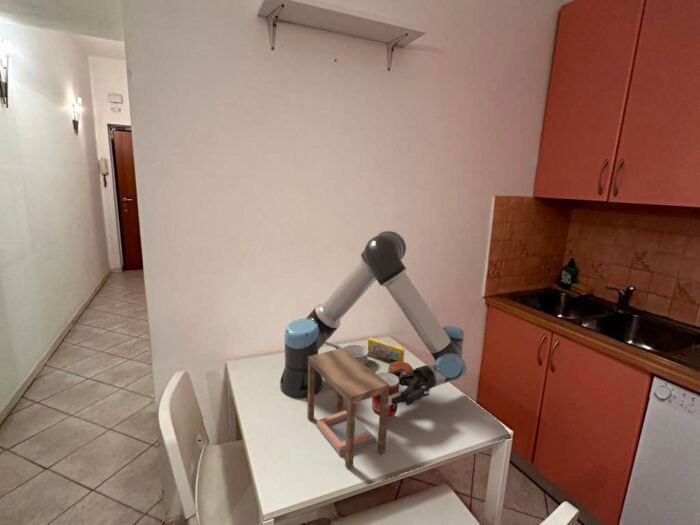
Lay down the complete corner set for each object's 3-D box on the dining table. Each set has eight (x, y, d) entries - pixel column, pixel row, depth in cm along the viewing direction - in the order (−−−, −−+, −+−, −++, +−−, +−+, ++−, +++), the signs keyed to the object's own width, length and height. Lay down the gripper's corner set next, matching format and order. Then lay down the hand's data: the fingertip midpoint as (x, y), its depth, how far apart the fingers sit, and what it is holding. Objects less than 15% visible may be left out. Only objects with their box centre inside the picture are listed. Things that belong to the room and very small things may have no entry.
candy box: (367, 356, 155) (367, 338, 153) (369, 355, 156) (370, 337, 155) (401, 368, 146) (402, 349, 144) (403, 366, 148) (405, 348, 146)
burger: (418, 378, 139) (418, 367, 138) (399, 385, 134) (400, 374, 133) (400, 367, 147) (401, 356, 146) (382, 373, 142) (383, 362, 141)
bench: (340, 406, 120) (342, 347, 115) (385, 452, 101) (389, 384, 96) (307, 418, 114) (308, 356, 109) (348, 469, 94) (351, 397, 89)
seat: (349, 414, 116) (350, 407, 116) (375, 441, 105) (376, 433, 104) (316, 426, 110) (316, 419, 109) (339, 456, 99) (340, 448, 98)
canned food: (396, 419, 110) (398, 387, 108) (369, 415, 112) (371, 383, 109) (398, 404, 117) (400, 374, 115) (373, 401, 119) (375, 370, 116)
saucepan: (332, 349, 161) (332, 337, 160) (372, 360, 151) (373, 348, 150) (317, 359, 151) (317, 347, 150) (360, 373, 142) (360, 359, 140)
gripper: (450, 402, 115) (394, 426, 103) (406, 372, 132) (354, 389, 120) (453, 381, 113) (395, 402, 101) (408, 353, 130) (355, 369, 118)
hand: (373, 395), depth 110 cm, fingers closed on canned food, 8 cm apart
